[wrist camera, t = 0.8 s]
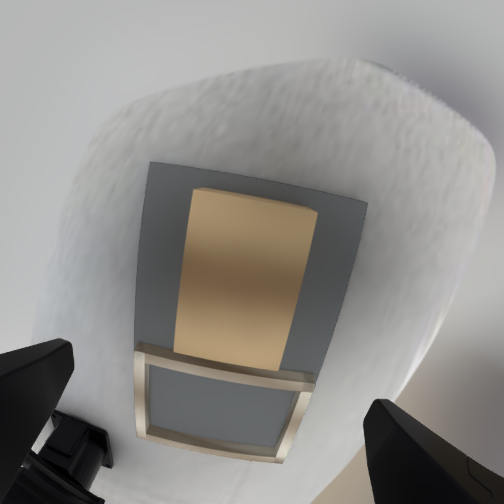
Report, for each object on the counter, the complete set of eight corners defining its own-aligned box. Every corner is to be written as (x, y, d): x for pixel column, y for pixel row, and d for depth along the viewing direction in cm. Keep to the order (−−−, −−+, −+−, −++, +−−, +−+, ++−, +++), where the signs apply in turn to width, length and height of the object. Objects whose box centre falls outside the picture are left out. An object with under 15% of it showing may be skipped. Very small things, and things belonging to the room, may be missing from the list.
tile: (275, 344, 20) (278, 371, 17) (184, 328, 19) (173, 351, 17) (308, 206, 17) (318, 212, 15) (204, 187, 17) (193, 189, 14)
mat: (283, 455, 23) (283, 459, 22) (138, 429, 23) (136, 432, 22) (365, 202, 18) (368, 203, 17) (152, 162, 17) (150, 161, 17)
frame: (281, 453, 22) (282, 463, 21) (140, 427, 22) (136, 436, 21) (313, 373, 20) (315, 383, 19) (139, 341, 20) (133, 350, 19)
